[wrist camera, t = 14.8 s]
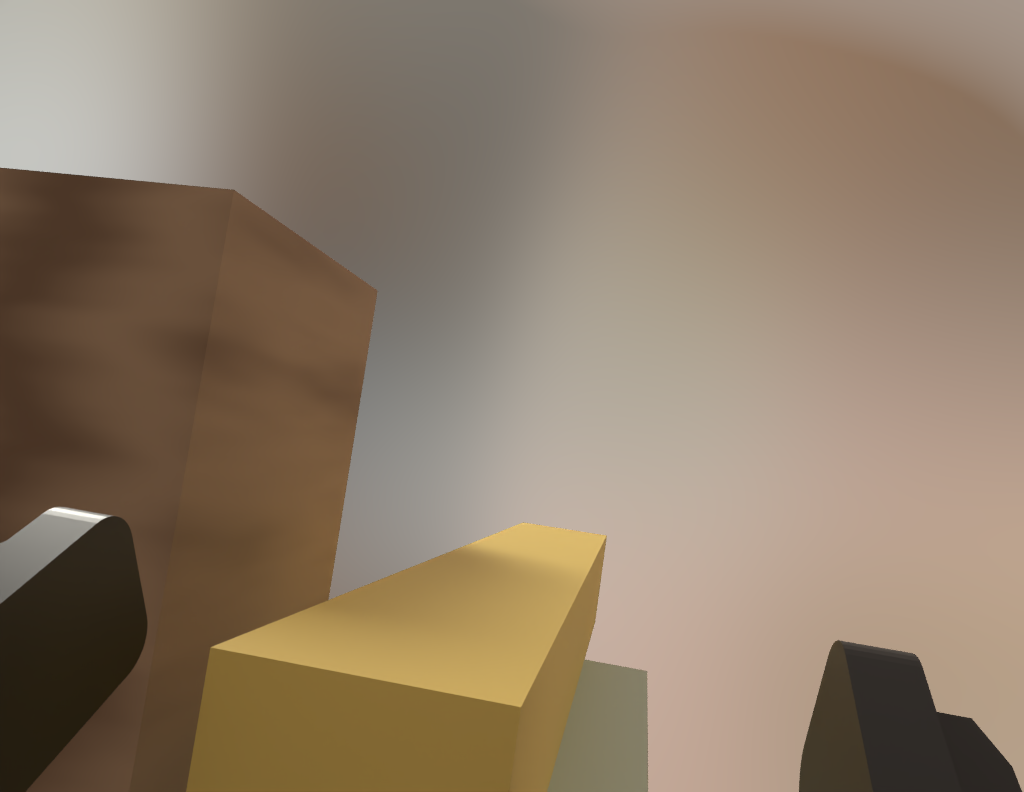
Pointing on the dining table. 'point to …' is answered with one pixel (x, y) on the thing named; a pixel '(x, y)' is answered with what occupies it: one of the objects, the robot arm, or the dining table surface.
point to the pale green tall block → (605, 733)
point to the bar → (410, 677)
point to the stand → (175, 425)
